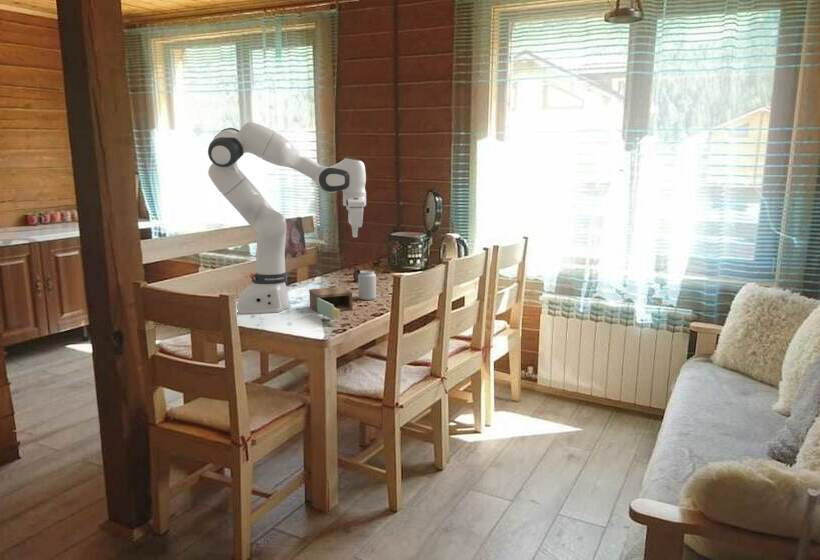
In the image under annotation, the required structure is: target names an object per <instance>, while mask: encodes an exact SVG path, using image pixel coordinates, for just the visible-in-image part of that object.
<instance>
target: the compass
mask: <svg viewBox="0 0 820 560" xmlns="http://www.w3.org/2000/svg"><path fill="white" fill-rule="evenodd" d="M360 271H361V270H360V269H358V268H356V269H354V271H353V275H352V277H353V280H354V281H355V283H358V275H359V274H360Z"/></svg>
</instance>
